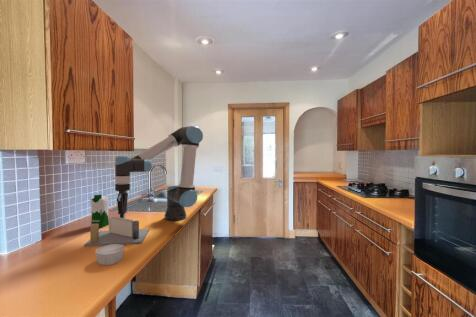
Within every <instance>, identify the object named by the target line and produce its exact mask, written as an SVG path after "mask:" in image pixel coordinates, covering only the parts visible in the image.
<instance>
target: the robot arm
mask: <svg viewBox="0 0 476 317" xmlns="http://www.w3.org/2000/svg"><path fill="white" fill-rule="evenodd" d="M203 138H204V134H203V130H202V129H201V128H200V127H199V126H196V125H189V126H182V127H180V128H177V129H176V130H175V131H173V132H172V133H170V134H169V135H168V137H166V138H164V139H162V140H161V141H159V142H157V143H156V144H155V145H152V146H151V147H149V148H147V149H145V150H143V151H142V152H141V153H139V154H137V155H136V156H133V157H132V158H131V156H129V155H117V156H116V157H115V160H114V162H115V163H114V171H115V176H114V180H115V182H114V183H115V185H114V190H115V191H116V192H118V193H117V197H116V202H117V215H119V218H125V219H126V214H127V213H128V211H127V210H128V208H127V207H128V197H129V193H128V191H130V189H131V184H130V183H131V173H148V172H150V171H152V161H154V160H155V159H156V158H158V157H160V156H161V155H163V154H164V153H166V152H168V151H170V150H171V149H172V148H174V147H175V148H177V147H178V146H182V148H183V150H182V161H181V170H180V171H181V172H180V181H179V184H177V185H169V186H167V188H166V209H165V212H164V219H165V220H166V221H182V220H185V219H186V218H187V213H186V208H190V207H193V206H194V205H195V204H196V203H197V201H198V194H197V192H196V186H195V185H194V180H195V177H194V176H195V167H196V156H197V149H198V148H199V147H200V143H201V142H202V141H203Z"/></svg>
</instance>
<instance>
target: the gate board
mask: <svg viewBox="0 0 476 317" xmlns="http://www.w3.org/2000/svg"><path fill="white" fill-rule="evenodd" d="M149 232H150V228H139V238H138V239H133V237H128V236H124V235H119V234H115V233H109V230H99V241H98V242H97V243H91V242H90V239H89V240H88V241H86V242H85V243H84V244H83V247H102V246H106V245H111V244H120V245H123V246H124V245H140V244H143V242H144V240H145V239H146V237H147V235H148V233H149Z"/></svg>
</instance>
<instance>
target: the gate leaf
mask: <svg viewBox="0 0 476 317" xmlns="http://www.w3.org/2000/svg"><path fill="white" fill-rule="evenodd" d="M108 220H109V225H108V231H109V233H115V234H119V235H124V236H128V237H133V221H134V219H129V218H126V217H125V218H120V216H114V215H111V216H110V217H109V216H108Z"/></svg>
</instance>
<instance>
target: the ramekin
mask: <svg viewBox="0 0 476 317" xmlns="http://www.w3.org/2000/svg"><path fill="white" fill-rule="evenodd" d="M124 251H125V246H124V244H123V245H120V244H111V245H104V246H99V247H98V248H96V250H95V252H94V253H95V256H96V263H98V264H99V265H100V266H110V265H111V266H112V265H116V264H118V263H119V262H121V261H122V259H123V257H124Z"/></svg>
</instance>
